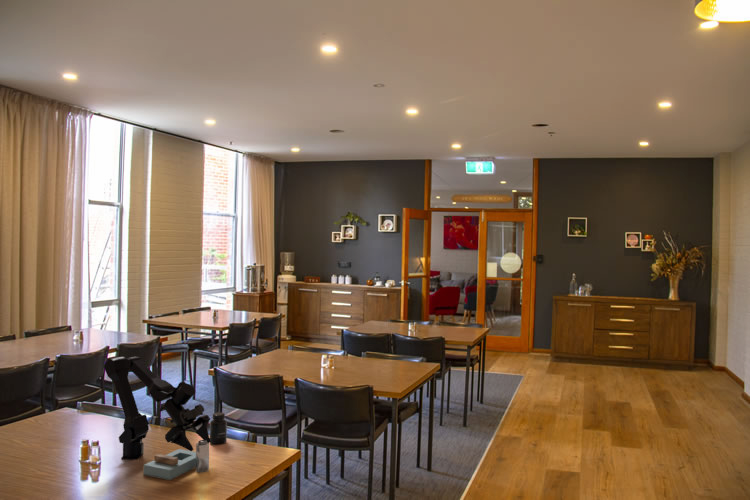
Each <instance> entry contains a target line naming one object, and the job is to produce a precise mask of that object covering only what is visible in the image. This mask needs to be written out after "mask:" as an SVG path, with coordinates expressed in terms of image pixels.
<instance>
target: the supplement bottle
mask: <svg viewBox="0 0 750 500" xmlns="http://www.w3.org/2000/svg"><path fill="white" fill-rule="evenodd" d="M225 417H226V415H225V412H214V413H212V420H210V421H209V438H210V443H209V445H213V446H220V445H224V444H226V443H227V439H228V438H227V434H228V422H227V420H226V419H225Z"/></svg>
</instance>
